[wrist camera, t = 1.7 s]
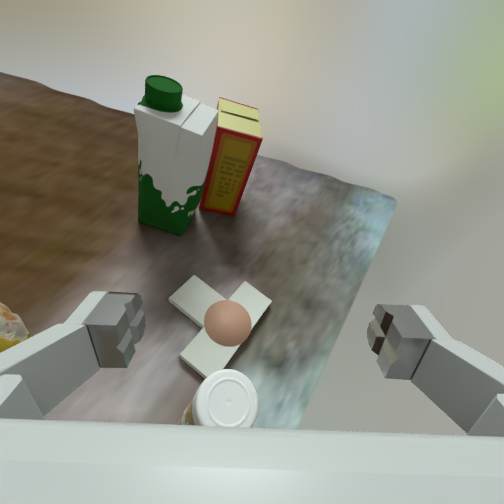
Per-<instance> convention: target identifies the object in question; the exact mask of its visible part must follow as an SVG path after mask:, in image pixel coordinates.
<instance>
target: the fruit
mask: <svg viewBox="0 0 504 504" xmlns="http://www.w3.org/2000/svg"><path fill="white" fill-rule="evenodd" d="M27 339H29V332H27V330H26V328H25V326H24V323H23V321H22V320H21V318H20V317H19V316H18V315H17V314H14V313H12V312H11V311H10V309H9V308H8V307H7V306H6V305H4V304H1V303H0V353H1V352H3V351H5V350H7V349H9V348H11V347H13V346H15V345H17V344H19V343H21V342H23V341H25V340H27Z"/></svg>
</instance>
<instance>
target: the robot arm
mask: <svg viewBox="0 0 504 504" xmlns="http://www.w3.org/2000/svg"><path fill="white" fill-rule="evenodd" d="M141 305H142V299H141V295H139V294H138V293H122V292H104V291H93V292H91V293H90V294H89V295H88V296H87V297H86V298H85V299H84V301H83V302H82V303H81V304H80V305H79V306H78V308H77V309H76V310H75V311H74V312H73V313H72V314H71V316H70V317H69V318H68V319H67V320H66V321H65V322H64V324H57V325H55V326H53V327H51V328H49V329H47V330H45V331H43V332H41V333H39V334H37V335H35V336H33V337H31V338H29V339H27V340H25V341H23V342H21V343H19V344H17V345H15V346H13V347H11V348H9V349H7V350H5V351H3V352H1V353H0V504H504V367H503V366H501V365H500V364H498V363H496V362H494V361H493V360H491V359H489V358H488V357H486V356H484V355H482V354H481V353H479V352H477V351H475V350H474V349H472V348H470V347H469V346H467V345H465V344H463V343H462V342H460V341H456V340H453V339H452V338H451V337H450V336H449V334H448V333H447V332H446V331H445V330H444V328H443V327H442V326H441V325H440V324H439V322H438V321H437V320H436V319H435V318H434V317H433V316H432V314H431V313H430V312H429V311H428V309H427V308H426V307H424V306H422V305H386V304H377V306H376V307H375V309H374V311H373V315H374V316H375V319H374V320H373V321H371V322H370V323H369V326H368V330H367V338H368V343H369V346H370V348H371V350H372V351H373V352H375V353H376V354H377V355H378V359H377V363H378V365H379V367H380V369H381V371H382V373H383V375H384V377H385V378H388V379H403V380H404V379H405V380H411V382H412V383H413V384H415V386H417V387H418V388H419V389H420V390H421V391H422V392H423V393H424V394H425V395H426V396H427V397H428V398H430V399H431V400H432V401H433V402H434V403H435V404H436V405H437V406H438V407H439V408H440V409H441V410H443V411H444V412H445V413H446V414H447V415H448V416H449V417H450V418H451V419H452V420H453V421H454V422H455V423H456V424H458V425H459V426H460V427H461V428H462V429H463V430H464V431H465V432H466V433H467V435H441V434H440V435H439V434H414V433H386V432H385V433H384V432H357V431H329V430H328V431H327V430H301V429H275V428H248V427H222V426H195V425H168V424H141V423H114V422H87V421H60V420H45V419H44V417H43V416H45V415H46V414H47V413H48V412H49V411H51V410H52V409H53V408H54V407H55V406H57V405H58V404H59V403H60V402H61V401H63V400H64V399H65V398H66V397H67V396H69V395H70V394H71V393H72V392H73V391H74V390H76V389H77V388H78V387H79V386H80V385H82V384H83V383H84V382H85V381H86V380H88V379H89V378H90V377H91V376H92V375H94V374H95V373H96V372H97V371H98V370H100V368H127V367H128V365H129V363H130V361H131V359H132V357H133V355H134V353H135V348H134V345H135V344H136V343H138V342H139V341H140V340H141V338H142V336H143V333H144V329H145V314H144V313H143V312H142V311H141V310H140V307H141Z"/></svg>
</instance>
